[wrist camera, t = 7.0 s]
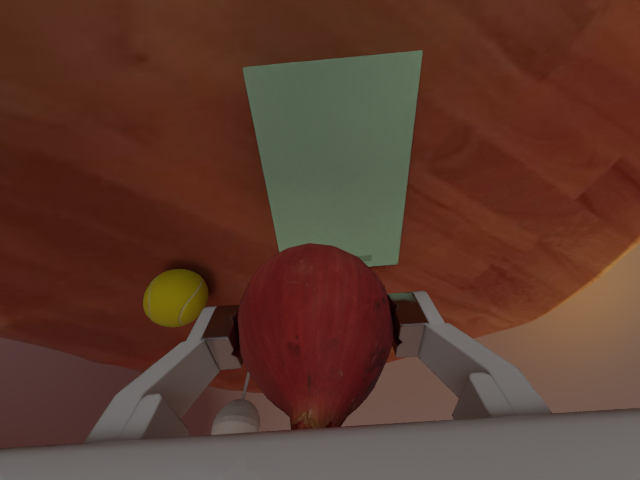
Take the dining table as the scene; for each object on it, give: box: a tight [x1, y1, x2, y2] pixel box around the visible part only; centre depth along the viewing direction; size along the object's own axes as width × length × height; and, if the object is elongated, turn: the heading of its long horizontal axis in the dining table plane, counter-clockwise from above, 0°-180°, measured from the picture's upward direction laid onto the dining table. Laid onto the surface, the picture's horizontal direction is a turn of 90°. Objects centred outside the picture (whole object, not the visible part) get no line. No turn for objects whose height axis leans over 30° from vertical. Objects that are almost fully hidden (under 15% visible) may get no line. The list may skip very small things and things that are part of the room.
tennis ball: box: [143, 269, 208, 327], centre depth 30 cm, size 7×7×7 cm
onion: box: [238, 243, 394, 430], centre depth 9 cm, size 6×6×8 cm
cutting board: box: [242, 51, 423, 266], centre depth 26 cm, size 22×15×2 cm
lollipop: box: [211, 372, 260, 435], centre depth 34 cm, size 6×6×15 cm
